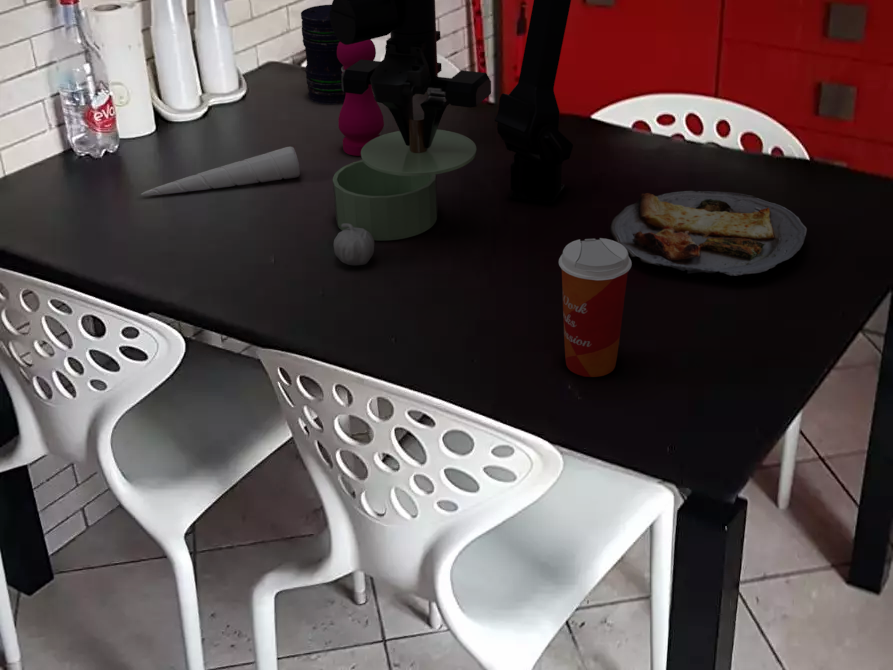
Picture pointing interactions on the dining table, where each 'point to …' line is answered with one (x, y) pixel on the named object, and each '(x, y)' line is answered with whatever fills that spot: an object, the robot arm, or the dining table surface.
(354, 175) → the squat sage green cylinder
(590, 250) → the paper cup
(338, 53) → the pepper mill
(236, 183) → the unicorn horn
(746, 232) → the food plate
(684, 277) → the dining table surface
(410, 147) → the lid
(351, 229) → the garlic
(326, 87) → the storage jar
